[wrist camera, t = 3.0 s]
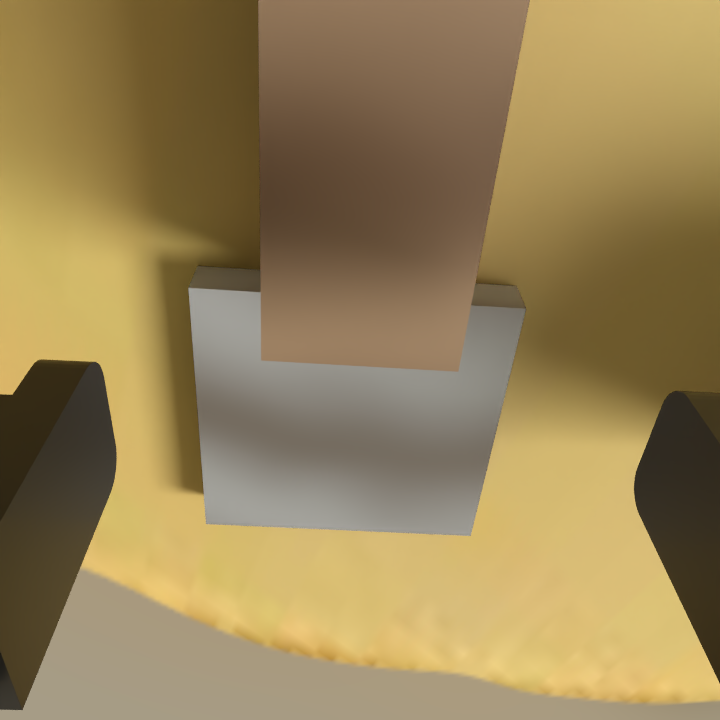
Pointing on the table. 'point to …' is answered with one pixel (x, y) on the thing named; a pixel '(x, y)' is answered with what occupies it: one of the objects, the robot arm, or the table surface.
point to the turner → (364, 274)
